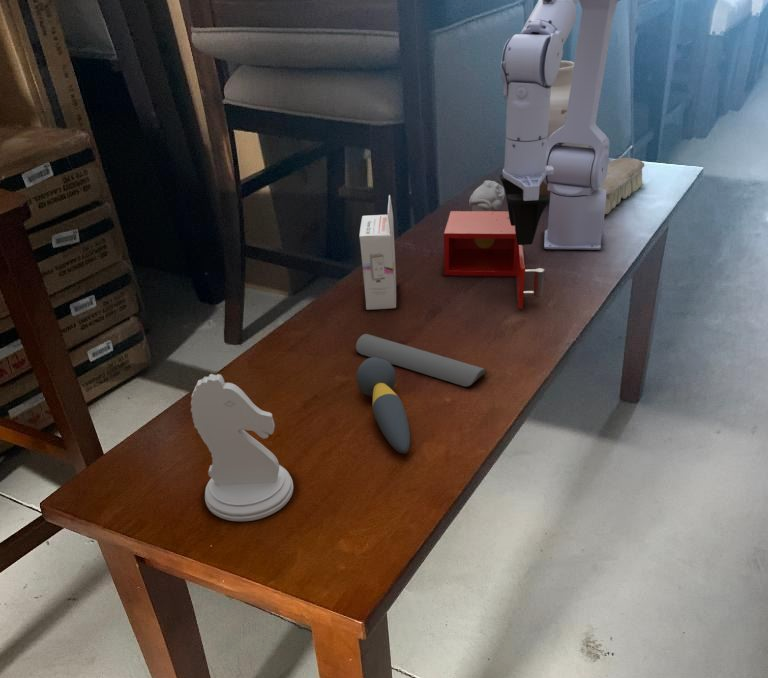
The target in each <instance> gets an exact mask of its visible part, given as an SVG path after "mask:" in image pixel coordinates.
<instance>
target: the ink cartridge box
mask: <svg viewBox="0 0 768 678" xmlns="http://www.w3.org/2000/svg"><path fill="white" fill-rule="evenodd" d="M360 221H361V222H360V228H359V236H358V237H359V245H360V255H361V266H362V277H363V285H364V286H363V287H364V299H365V310H366V311H367V310H368V311H370V310H387V309H388V310H390V309H396V308H397V273H396V272H397V269H396V250H395V249H396V247H395V228H394V225H395V224H394V211H393V205H392V198H391V194H388V203H387V214H371V215H370V214H369V215H362V216H361V220H360Z"/></svg>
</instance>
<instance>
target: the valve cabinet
mask: <svg viewBox="0 0 768 678" xmlns="http://www.w3.org/2000/svg"><path fill="white" fill-rule="evenodd" d="M516 263H517V240H516V233H515V226H511V223H510V219H509V212H508V210H507V211H505V210H503V211H502V210H499V211H472V210H466V211H465V210H451V211H450V212H449V216H448V219H447V222H446V225H445V229H444V232H443V275H444V276H460V277H462V276H464V277H466V276H467V277H469V276H470V277H516Z"/></svg>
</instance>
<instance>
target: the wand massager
mask: <svg viewBox="0 0 768 678" xmlns="http://www.w3.org/2000/svg"><path fill="white" fill-rule="evenodd" d="M396 377H397V376H396V371H395V368H394V366H393V364H391V363H389V362H388V361H386V360H384V359H381V358H377V357H368V358H366V359H365V360H363V362H361V364H360V365H359V366H358V369H357V372H356V383H357V387H358V388H359V390H360V391H361V392H362V394H363V395H365V396H368V397H370V398H372V412H373V416H374V418H375V421H376V424H377V426H378V427H379V429H380V431H381V433H382V435H383V436H384V438H385V439H386V441H387V442H388V443H389V445H390V446H391V447H392V448H393V449H394V450H395V451H396V452H398V453H400V454H407V453H408V451H409V450H410V447H411V432H410V431H411V430H410V424H409V421H408V417H407V413H406V410H405V406H404V404H403V402H402V400H401V398H400V397H399V395H398V394H397V393H396V392H395V391H394V390H393V389H394V387H395V385H396V379H397V378H396Z"/></svg>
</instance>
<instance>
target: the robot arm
mask: <svg viewBox="0 0 768 678" xmlns="http://www.w3.org/2000/svg"><path fill="white" fill-rule="evenodd" d="M620 1H621V0H537V2H536V4H535V6H534V7H533V9H532V11H531V13H530V15H529V17H528V18H527V20H526V22H525V24H524V26H523V27H522V29H521V31H520V33H516V34H514V35H513V36H512V37H510V38H508V39H507V40H506V42H505V43H504V46H503V49H502V52H501V53H502V54H501V60H500V64H499V65H500V76H501V81H502V85H503V86H502V87H503V92H502V95H503V99H504V100H505V101H506V113H505V114H506V116H505V117H506V119H505V139H504V140H505V141H504V164H503V165H504V166H503V169H502V174H500V175H499V179H500V182H501V184H502V186H503V188H504V194H505V197H506V203H507V211H508V212H509V219H510V223H511V226H515V233H516V240H517V244H518V245H522V246H529V245H533V242H534V238H535V236H536V232H537V229H538V226H539V222H540V219H541V217H542V215H543V213H544V211H545V209H546V207H547V206H548V204H549V206H548V219H547V229H545V230H544V240H543V249H545V250H582V251H583V250H585V251H586V250H587V251H588V250H589V251H590V250H591V251H592V250H594V251H596V250H597V251H599V250H601V249H602V238H603V235H604V232H605V231H604V230H605V223H604V222H605V215H606V214H605V206H606V190H605V189H599V188H600V187H601V186H602V185H603V183H604V181H605V178H606V175H607V171H608V164H609V162H610V157H609V153H610V146H611V145H610V139H609V138H608V136H607V135H606V134H605V133H604V132H603V131H602V130H601V129H600V128H599V126H598V125H597V117H598V112H599V105H600V100H601V99H600V98H601V93H602V86H603V82H604V81H603V80H604V75H605V70H606V64H607V59H608V58H607V57H608V51H609V46H610V40H611V33H612V27H613V22H614V16H615V12H616V8H617V5H618V3H619V2H620ZM578 3H579V4H580V7H581V16H580V21H579V28H578V35H577V41H576V48H575V55H574V61H573V62H574V68H573V74H572V81H571V88H570V94H569V101H568V108H567V115H566V121H565V125H563V126H562V127H561V128H559V129H558V130H556V131H555V132H554V133H552V134H551V135H550V136H549V139H548V141H547V137H548V123H549V109H550V96H551V85H552V84H553V83H554V81H555V80H556V78H557V75H558V71H559V66H560V61H561V60H562V58H563V55H564V46H565V43H566V42H567V39H568V38H569V35H570V34H571V32H572V30H573V28H574V26H575V24H576V22H577V16H578V15H577V14H578V13H577V7H576V6H577V4H578ZM564 143H571V144H583V145H589V146H590V148H585V147H574V146H563V145H562V144H564ZM542 181H543V182H544V183H545V184H546V185H548V187H547V190H548V191H551V192H550V201H549V196H548V194H547V195H539V187H540V184H541V183H542Z"/></svg>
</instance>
